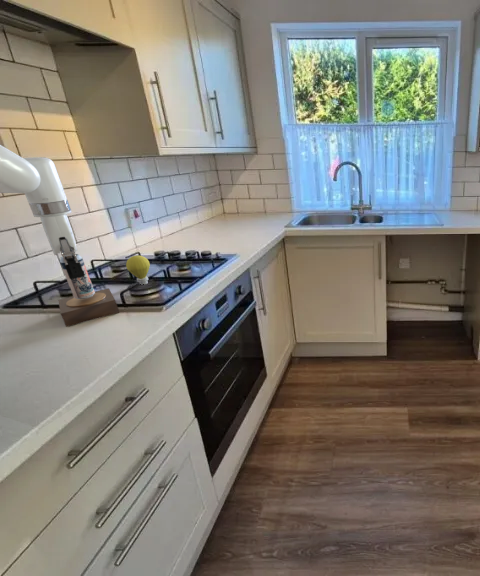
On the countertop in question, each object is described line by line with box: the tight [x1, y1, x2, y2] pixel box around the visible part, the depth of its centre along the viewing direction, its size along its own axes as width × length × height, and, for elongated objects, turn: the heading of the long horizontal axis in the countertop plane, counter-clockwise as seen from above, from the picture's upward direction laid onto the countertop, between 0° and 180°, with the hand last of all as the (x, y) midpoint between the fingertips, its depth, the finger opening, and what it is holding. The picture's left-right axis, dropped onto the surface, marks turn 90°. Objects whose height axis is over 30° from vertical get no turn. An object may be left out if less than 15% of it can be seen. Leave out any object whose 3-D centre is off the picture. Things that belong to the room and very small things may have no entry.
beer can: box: [59, 253, 95, 299], centre depth 100 cm, size 5×5×12 cm
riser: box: [58, 288, 120, 328], centre depth 103 cm, size 12×12×4 cm
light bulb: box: [125, 254, 151, 286], centre depth 122 cm, size 7×7×10 cm
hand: (76, 274), depth 99 cm, fingers closed on beer can, 4 cm apart
